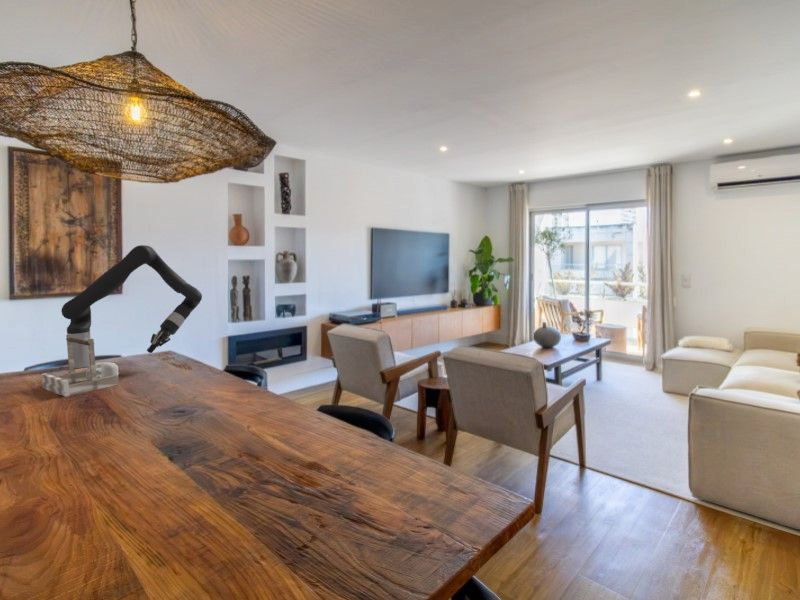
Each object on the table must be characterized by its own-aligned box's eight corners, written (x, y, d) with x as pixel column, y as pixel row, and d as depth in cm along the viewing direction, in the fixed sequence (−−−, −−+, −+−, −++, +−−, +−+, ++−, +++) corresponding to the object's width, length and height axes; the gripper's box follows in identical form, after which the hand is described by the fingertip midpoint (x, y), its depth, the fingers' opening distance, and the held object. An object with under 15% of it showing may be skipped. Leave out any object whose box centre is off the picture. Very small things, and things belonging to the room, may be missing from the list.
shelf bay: (42, 388, 182) (38, 338, 180) (95, 377, 198) (91, 331, 196) (65, 396, 170) (60, 343, 168) (118, 384, 186) (115, 335, 184)
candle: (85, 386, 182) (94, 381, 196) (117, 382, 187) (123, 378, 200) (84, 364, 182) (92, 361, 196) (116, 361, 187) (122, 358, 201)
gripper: (159, 317, 217) (135, 345, 208) (174, 319, 210) (150, 349, 201) (170, 326, 222) (147, 354, 213) (185, 328, 215) (162, 358, 206)
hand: (148, 351), depth 207 cm, fingers closed
